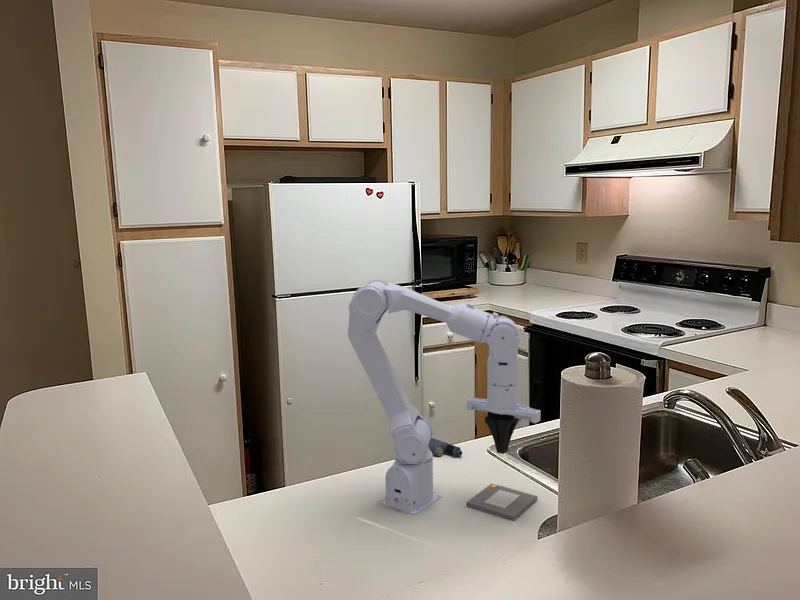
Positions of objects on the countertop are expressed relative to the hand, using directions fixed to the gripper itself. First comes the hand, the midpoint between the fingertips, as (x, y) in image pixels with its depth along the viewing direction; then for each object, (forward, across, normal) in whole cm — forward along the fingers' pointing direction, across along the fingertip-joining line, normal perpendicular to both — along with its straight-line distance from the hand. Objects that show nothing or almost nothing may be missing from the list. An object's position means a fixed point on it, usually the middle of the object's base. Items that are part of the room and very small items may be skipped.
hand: (502, 451), depth 118 cm
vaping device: (+9, +30, -15) cm, 35 cm away
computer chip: (+10, 0, 0) cm, 10 cm away
